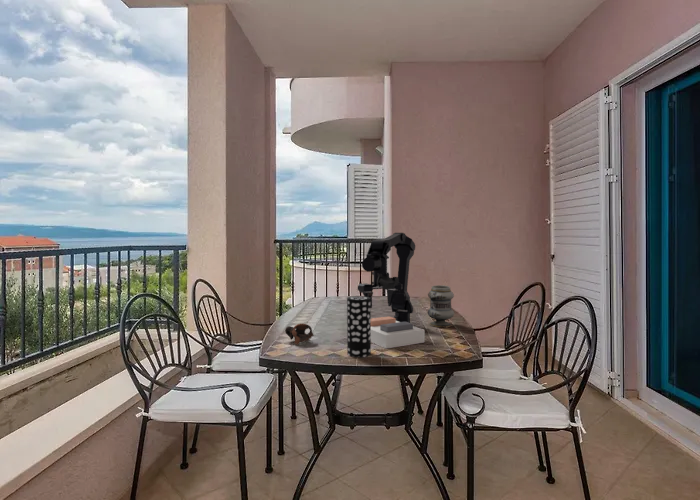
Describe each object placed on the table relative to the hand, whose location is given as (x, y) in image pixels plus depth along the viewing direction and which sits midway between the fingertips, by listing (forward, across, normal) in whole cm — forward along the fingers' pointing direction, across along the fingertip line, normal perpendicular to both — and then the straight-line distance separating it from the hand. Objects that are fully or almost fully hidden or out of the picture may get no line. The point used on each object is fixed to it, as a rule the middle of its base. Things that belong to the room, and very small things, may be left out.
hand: (380, 307), depth 178 cm
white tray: (+12, 0, -6) cm, 13 cm away
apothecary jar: (+12, +35, +3) cm, 37 cm away
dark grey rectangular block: (+9, 0, -12) cm, 15 cm away
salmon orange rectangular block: (+9, 0, 0) cm, 9 cm away
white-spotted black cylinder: (+12, -21, -19) cm, 31 cm away
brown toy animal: (+12, -33, +7) cm, 36 cm away
